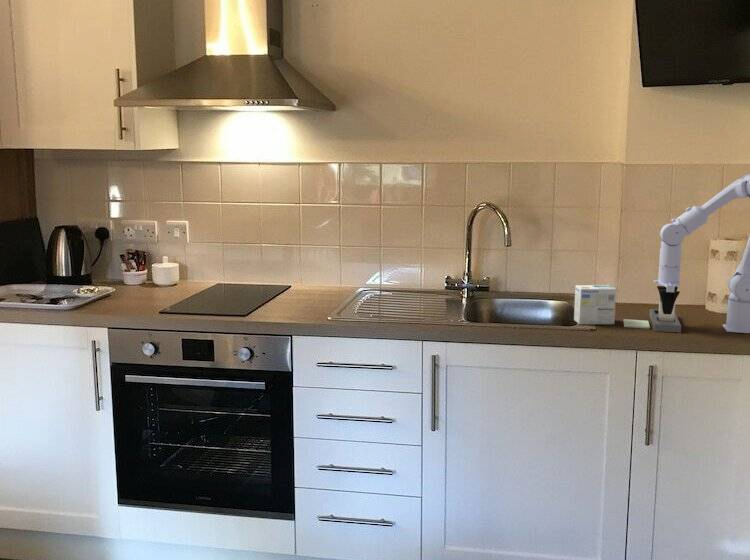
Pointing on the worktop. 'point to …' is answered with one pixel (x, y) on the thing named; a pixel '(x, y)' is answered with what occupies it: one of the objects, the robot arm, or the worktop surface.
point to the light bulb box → (595, 304)
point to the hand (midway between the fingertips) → (666, 312)
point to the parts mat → (636, 323)
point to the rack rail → (664, 323)
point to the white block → (665, 316)
